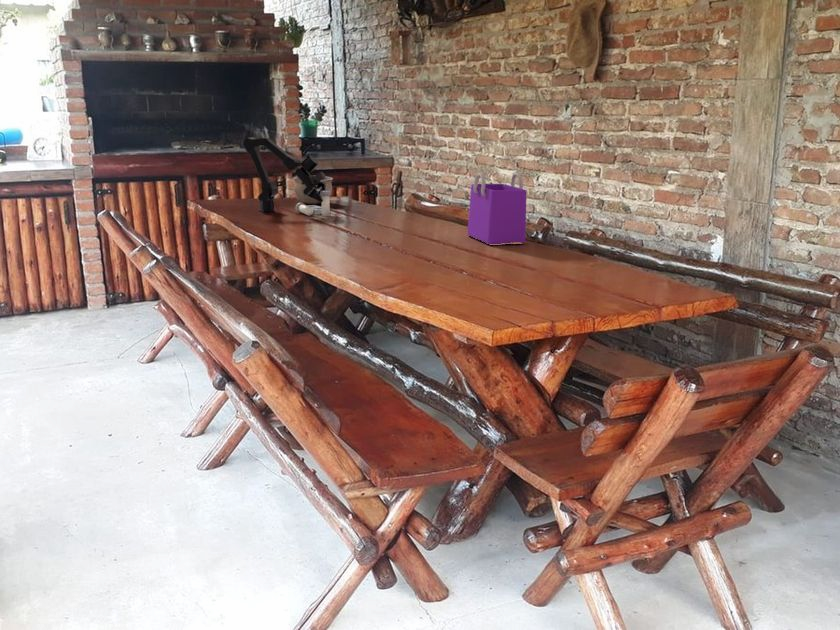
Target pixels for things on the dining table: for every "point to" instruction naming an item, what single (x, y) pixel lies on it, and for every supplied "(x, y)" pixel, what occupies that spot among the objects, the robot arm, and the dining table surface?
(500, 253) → the dining table surface
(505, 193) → the shopping bag
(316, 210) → the housing
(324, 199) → the translucent upright cylinder
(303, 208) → the white plastic cylinder
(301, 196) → the ceramic bowl
